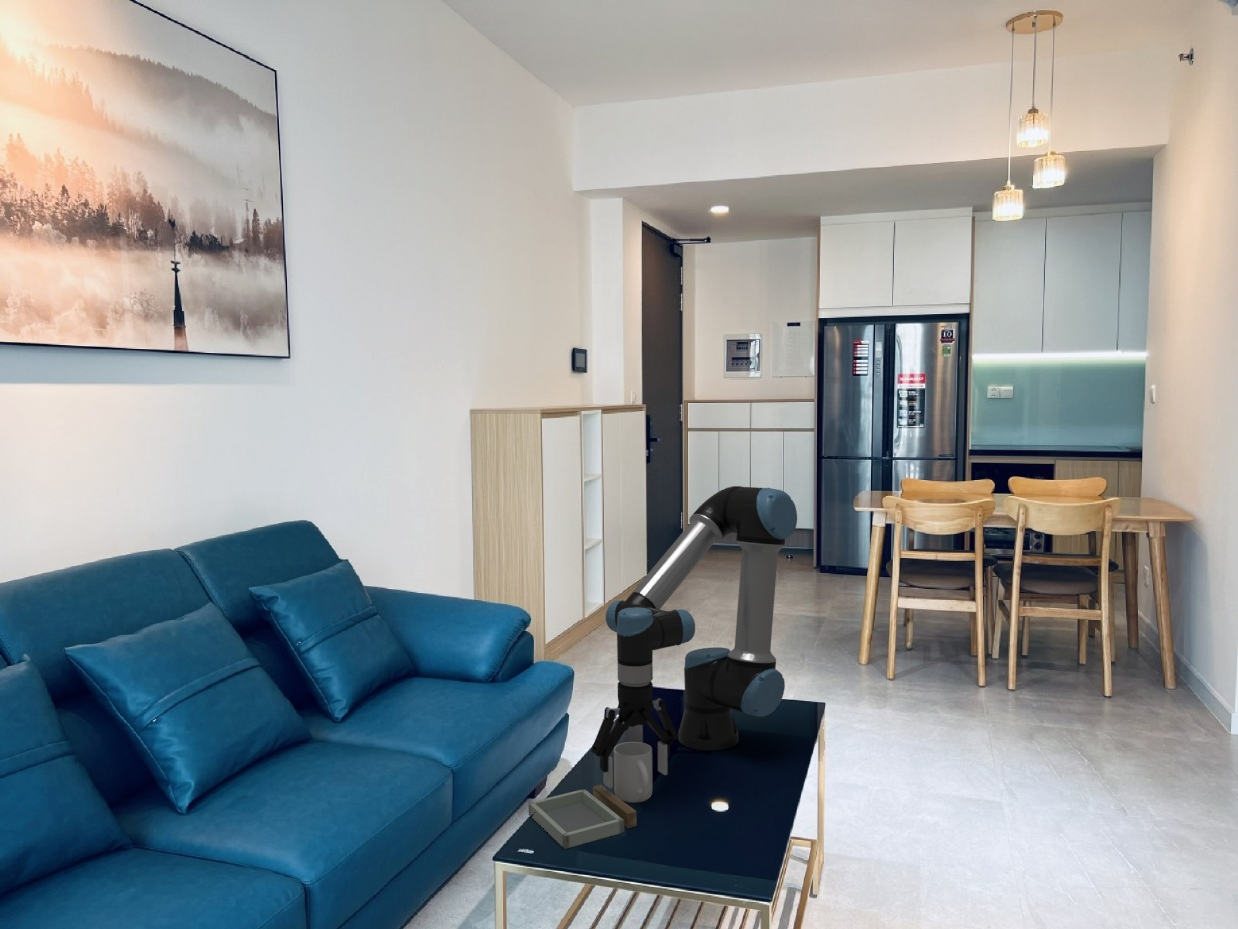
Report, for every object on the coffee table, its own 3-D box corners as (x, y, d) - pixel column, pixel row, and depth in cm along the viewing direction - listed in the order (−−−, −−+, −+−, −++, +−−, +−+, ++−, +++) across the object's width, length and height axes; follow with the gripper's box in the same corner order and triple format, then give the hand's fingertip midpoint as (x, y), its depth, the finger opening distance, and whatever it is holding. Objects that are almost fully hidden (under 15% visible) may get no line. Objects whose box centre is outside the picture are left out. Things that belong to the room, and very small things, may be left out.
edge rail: (601, 798, 189) (600, 784, 188) (636, 826, 176) (636, 811, 175) (592, 800, 188) (592, 786, 188) (628, 828, 175) (627, 813, 174)
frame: (584, 800, 188) (584, 789, 188) (624, 832, 173) (623, 820, 173) (528, 814, 181) (528, 802, 181) (564, 849, 167) (564, 836, 167)
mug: (665, 807, 184) (664, 759, 184) (628, 813, 181) (627, 764, 181) (644, 785, 195) (643, 739, 195) (609, 790, 193) (608, 744, 192)
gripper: (674, 668, 196) (675, 761, 197) (574, 686, 184) (576, 785, 185) (693, 677, 190) (693, 773, 191) (591, 695, 178) (592, 798, 179)
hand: (635, 779), depth 188 cm, fingers open, 13 cm apart
